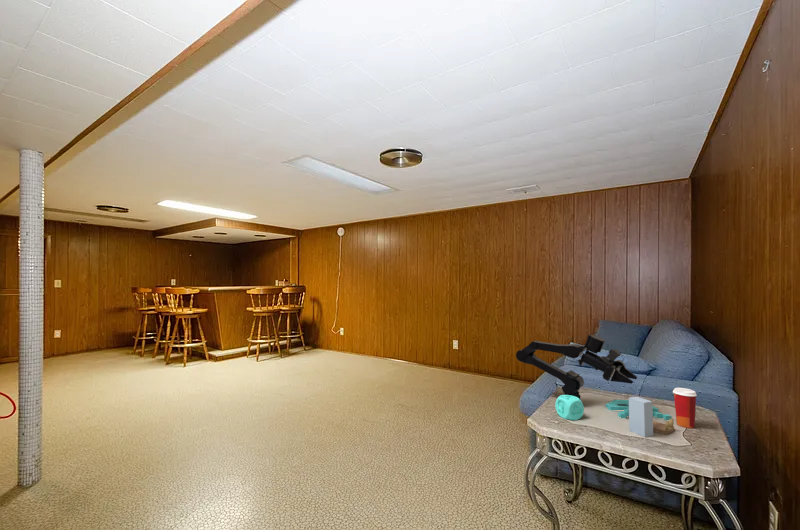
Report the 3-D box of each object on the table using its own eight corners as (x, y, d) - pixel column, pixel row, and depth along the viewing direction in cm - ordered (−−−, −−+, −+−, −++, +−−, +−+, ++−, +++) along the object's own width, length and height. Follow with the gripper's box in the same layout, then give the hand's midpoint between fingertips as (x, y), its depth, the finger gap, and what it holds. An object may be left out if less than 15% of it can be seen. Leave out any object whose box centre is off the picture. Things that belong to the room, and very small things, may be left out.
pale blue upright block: (629, 430, 138) (628, 397, 138) (637, 429, 139) (636, 396, 140) (644, 437, 132) (643, 402, 133) (653, 435, 134) (652, 401, 134)
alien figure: (671, 421, 149) (643, 405, 169) (671, 416, 149) (643, 400, 169) (620, 419, 151) (599, 403, 171) (620, 414, 151) (599, 398, 171)
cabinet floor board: (636, 426, 142) (636, 415, 143) (644, 421, 147) (644, 411, 147) (667, 435, 134) (667, 423, 134) (674, 429, 139) (674, 418, 139)
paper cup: (691, 422, 146) (690, 388, 147) (702, 430, 139) (701, 393, 140) (669, 420, 148) (668, 386, 149) (679, 428, 141) (678, 392, 141)
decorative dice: (584, 419, 149) (584, 399, 150) (568, 421, 147) (568, 401, 147) (570, 412, 157) (569, 394, 157) (555, 414, 155) (554, 395, 155)
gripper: (597, 348, 153) (638, 367, 142) (608, 343, 166) (646, 359, 156) (587, 371, 155) (627, 391, 145) (599, 364, 168) (636, 382, 158)
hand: (634, 380), depth 151 cm, fingers open, 9 cm apart
